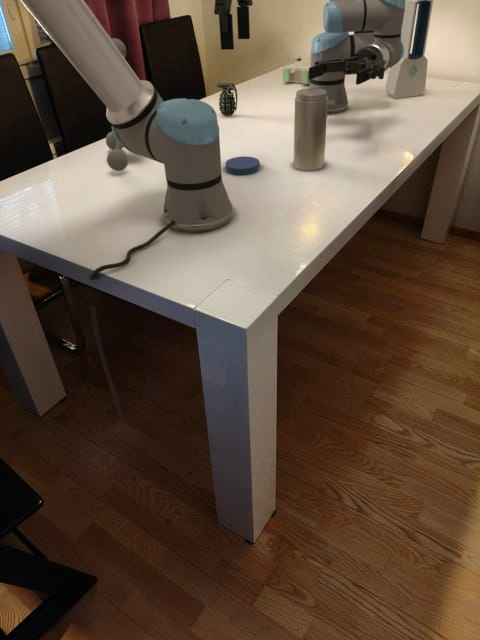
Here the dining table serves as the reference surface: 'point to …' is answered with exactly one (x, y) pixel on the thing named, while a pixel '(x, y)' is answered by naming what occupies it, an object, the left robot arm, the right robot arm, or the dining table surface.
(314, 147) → the jar
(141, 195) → the dining table surface
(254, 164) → the lid
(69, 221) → the dining table surface
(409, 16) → the electronic device
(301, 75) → the decorative block
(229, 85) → the grenade
